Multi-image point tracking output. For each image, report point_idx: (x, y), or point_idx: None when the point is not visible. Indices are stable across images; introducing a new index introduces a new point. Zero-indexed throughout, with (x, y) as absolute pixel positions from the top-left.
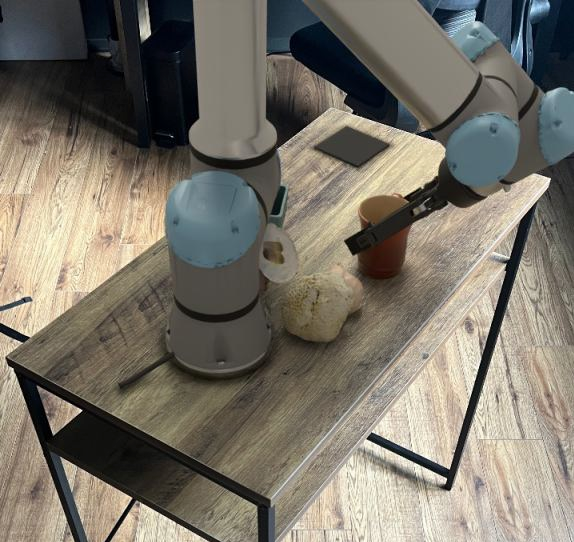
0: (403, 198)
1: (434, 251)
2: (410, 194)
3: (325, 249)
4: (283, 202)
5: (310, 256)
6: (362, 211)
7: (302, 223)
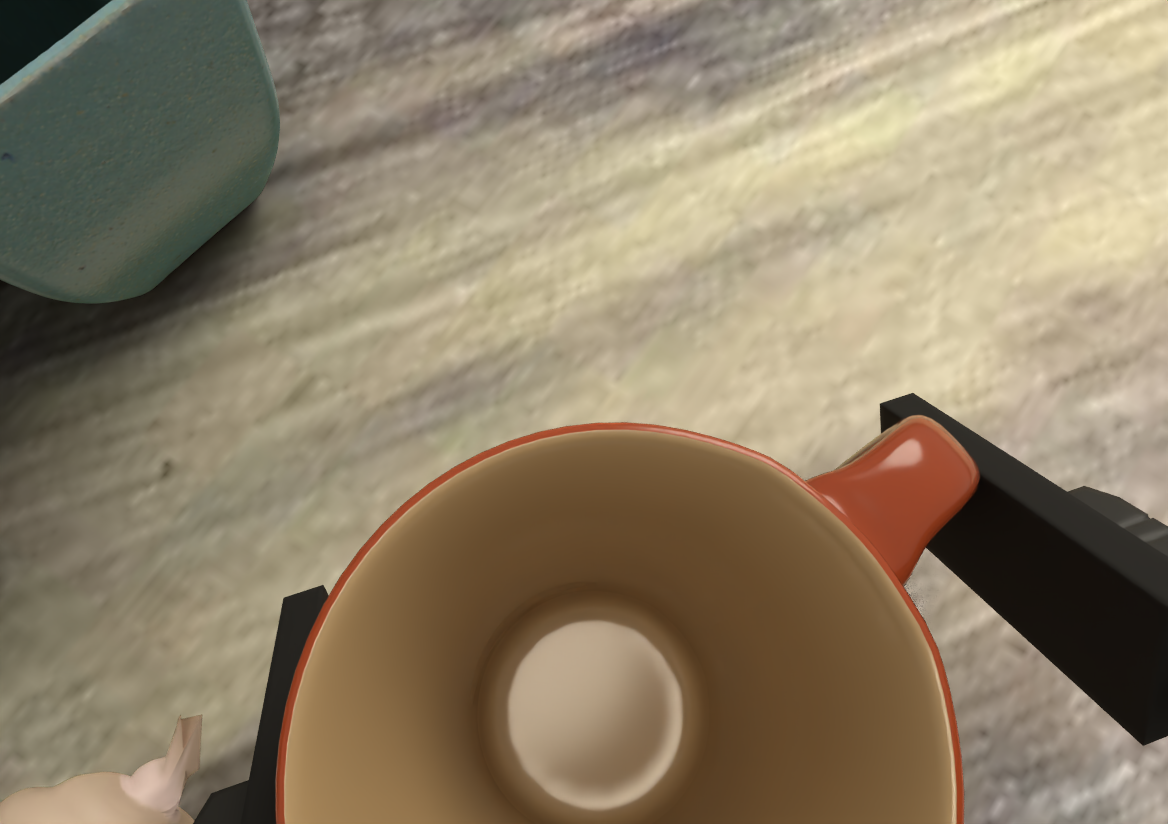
0: (984, 482)
1: (1003, 730)
2: (1057, 539)
3: (441, 378)
4: (31, 69)
5: (332, 387)
6: (447, 539)
7: (478, 147)
